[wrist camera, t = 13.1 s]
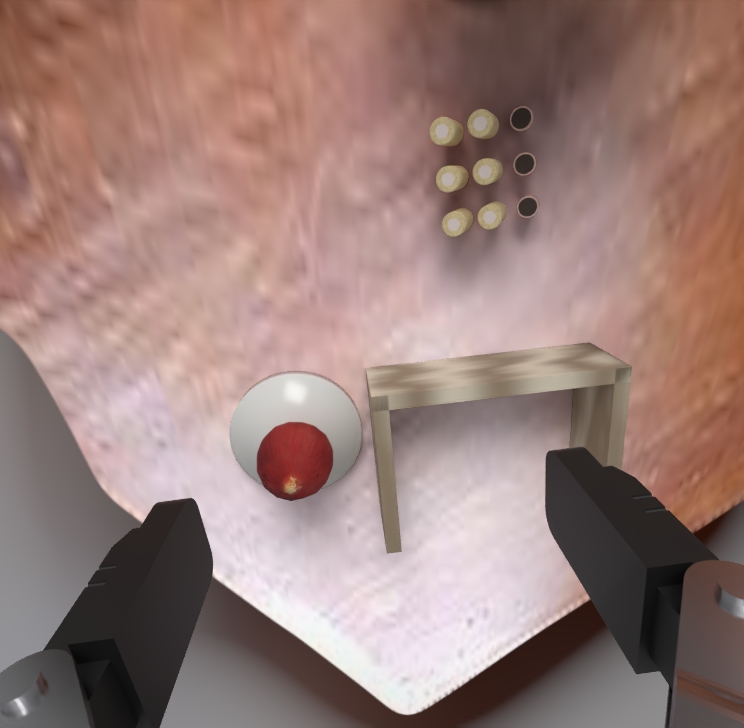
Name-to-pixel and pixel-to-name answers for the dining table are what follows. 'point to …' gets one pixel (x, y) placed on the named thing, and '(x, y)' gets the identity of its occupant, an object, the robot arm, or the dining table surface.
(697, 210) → the dining table surface
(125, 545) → the robot arm
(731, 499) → the dining table surface
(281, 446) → the onion
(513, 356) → the wooden plank arch
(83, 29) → the dining table surface
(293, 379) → the white flat disc
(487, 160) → the ammunition
